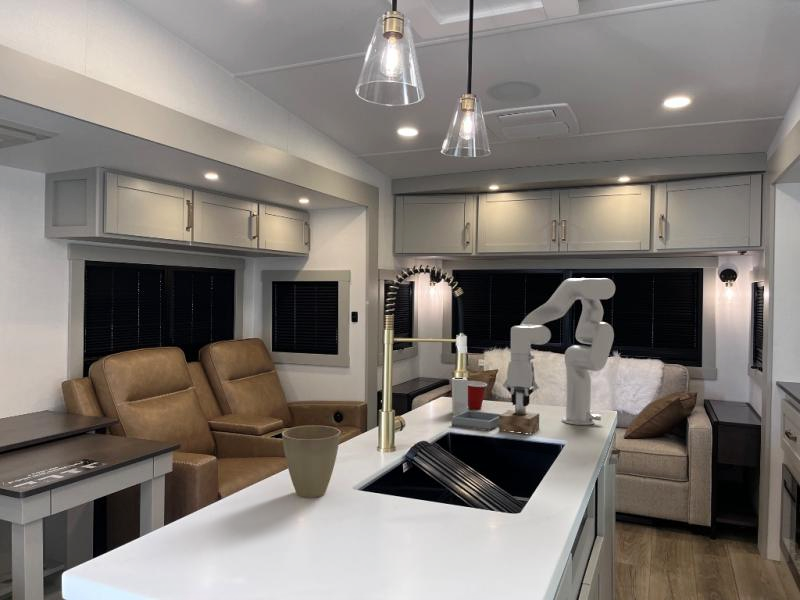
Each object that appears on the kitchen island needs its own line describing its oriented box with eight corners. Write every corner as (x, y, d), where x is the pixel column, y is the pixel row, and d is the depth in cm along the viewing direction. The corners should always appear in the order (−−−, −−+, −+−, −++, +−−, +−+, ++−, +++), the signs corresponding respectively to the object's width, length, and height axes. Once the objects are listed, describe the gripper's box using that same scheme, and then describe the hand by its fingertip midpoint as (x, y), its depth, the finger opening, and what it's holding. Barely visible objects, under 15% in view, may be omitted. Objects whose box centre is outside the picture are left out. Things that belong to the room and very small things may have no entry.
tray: (504, 423, 238) (504, 414, 238) (489, 430, 224) (489, 421, 224) (467, 418, 246) (468, 410, 246) (451, 425, 232) (451, 416, 232)
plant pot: (276, 487, 156) (277, 427, 155) (331, 481, 161) (332, 423, 161) (286, 506, 142) (287, 440, 142) (346, 499, 147) (347, 436, 147)
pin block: (539, 428, 229) (539, 413, 229) (529, 434, 219) (529, 418, 219) (509, 425, 235) (509, 410, 235) (499, 430, 225) (499, 415, 225)
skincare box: (468, 416, 252) (468, 379, 251) (452, 415, 252) (453, 379, 252) (466, 412, 260) (466, 377, 260) (451, 411, 260) (451, 376, 260)
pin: (528, 423, 228) (528, 385, 228) (524, 425, 224) (524, 387, 223) (516, 421, 230) (516, 384, 230) (512, 424, 226) (512, 386, 226)
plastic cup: (476, 412, 261) (476, 385, 261) (458, 408, 269) (458, 382, 269) (491, 409, 268) (492, 382, 268) (474, 405, 276) (474, 380, 276)
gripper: (544, 358, 226) (544, 405, 226) (503, 355, 234) (503, 401, 234) (539, 360, 219) (538, 409, 219) (496, 357, 228) (496, 404, 228)
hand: (520, 404), depth 227 cm, fingers closed on pin, 4 cm apart
